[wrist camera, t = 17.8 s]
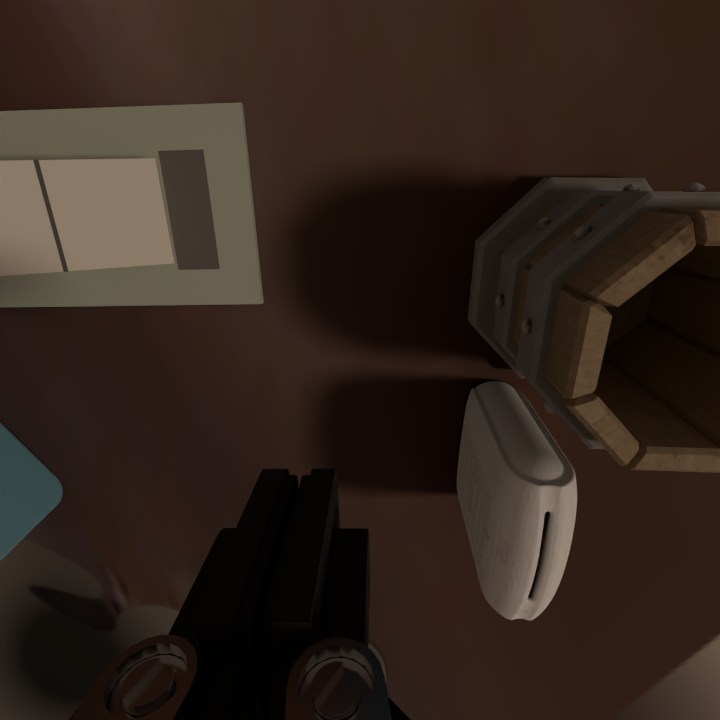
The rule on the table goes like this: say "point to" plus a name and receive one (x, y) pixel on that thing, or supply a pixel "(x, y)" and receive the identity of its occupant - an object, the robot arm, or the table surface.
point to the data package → (22, 491)
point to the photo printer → (514, 500)
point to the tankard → (611, 313)
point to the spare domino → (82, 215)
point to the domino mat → (183, 197)
